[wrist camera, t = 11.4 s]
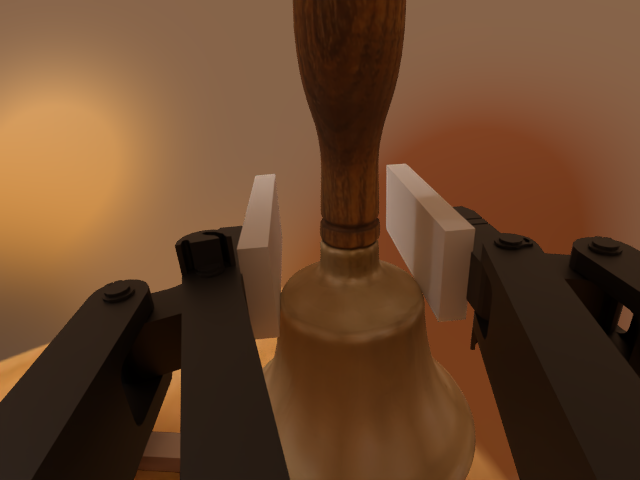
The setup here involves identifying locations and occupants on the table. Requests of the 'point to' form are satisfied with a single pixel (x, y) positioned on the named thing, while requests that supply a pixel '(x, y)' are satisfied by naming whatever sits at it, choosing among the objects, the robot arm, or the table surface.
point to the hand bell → (358, 284)
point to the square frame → (162, 452)
